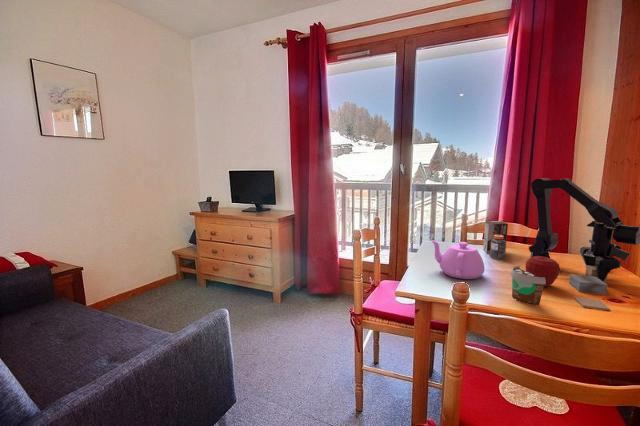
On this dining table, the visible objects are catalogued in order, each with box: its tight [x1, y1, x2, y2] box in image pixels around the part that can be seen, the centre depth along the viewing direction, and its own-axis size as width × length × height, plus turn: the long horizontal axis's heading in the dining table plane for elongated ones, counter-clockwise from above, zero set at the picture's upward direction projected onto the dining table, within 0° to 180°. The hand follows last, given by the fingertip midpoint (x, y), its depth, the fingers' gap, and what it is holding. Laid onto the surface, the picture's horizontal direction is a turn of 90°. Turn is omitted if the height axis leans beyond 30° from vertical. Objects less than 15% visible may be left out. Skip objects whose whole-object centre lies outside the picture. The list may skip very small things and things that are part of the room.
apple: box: [525, 256, 561, 288], centre depth 116 cm, size 11×11×12 cm
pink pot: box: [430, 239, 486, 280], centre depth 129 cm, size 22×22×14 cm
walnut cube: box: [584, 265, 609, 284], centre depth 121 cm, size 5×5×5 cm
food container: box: [509, 265, 546, 306], centre depth 104 cm, size 12×6×10 cm, turn 5°
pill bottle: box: [489, 235, 505, 260], centre depth 149 cm, size 6×6×11 cm
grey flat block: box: [568, 273, 608, 295], centre depth 113 cm, size 8×8×4 cm
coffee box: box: [482, 220, 509, 255], centre depth 158 cm, size 9×6×16 cm
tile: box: [573, 296, 611, 311], centre depth 101 cm, size 7×7×1 cm
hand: (595, 277), depth 122 cm, fingers open, 9 cm apart
